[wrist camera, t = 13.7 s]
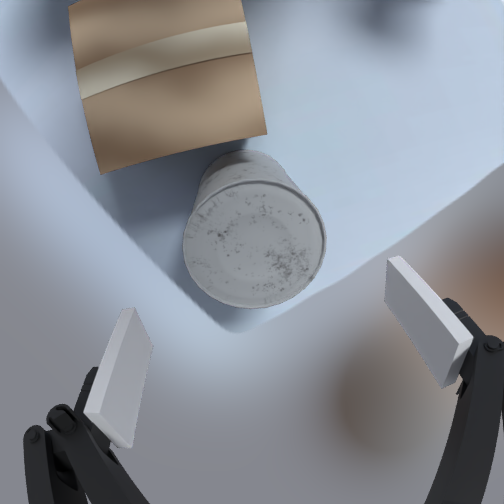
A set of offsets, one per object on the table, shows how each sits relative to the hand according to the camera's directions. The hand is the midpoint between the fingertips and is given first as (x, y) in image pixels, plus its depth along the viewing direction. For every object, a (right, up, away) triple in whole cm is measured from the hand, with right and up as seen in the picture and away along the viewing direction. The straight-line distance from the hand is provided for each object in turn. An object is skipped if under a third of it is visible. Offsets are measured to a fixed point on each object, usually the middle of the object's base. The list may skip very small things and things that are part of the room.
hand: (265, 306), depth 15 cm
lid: (-7, +16, +2) cm, 18 cm away
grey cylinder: (-1, +8, +16) cm, 18 cm away
